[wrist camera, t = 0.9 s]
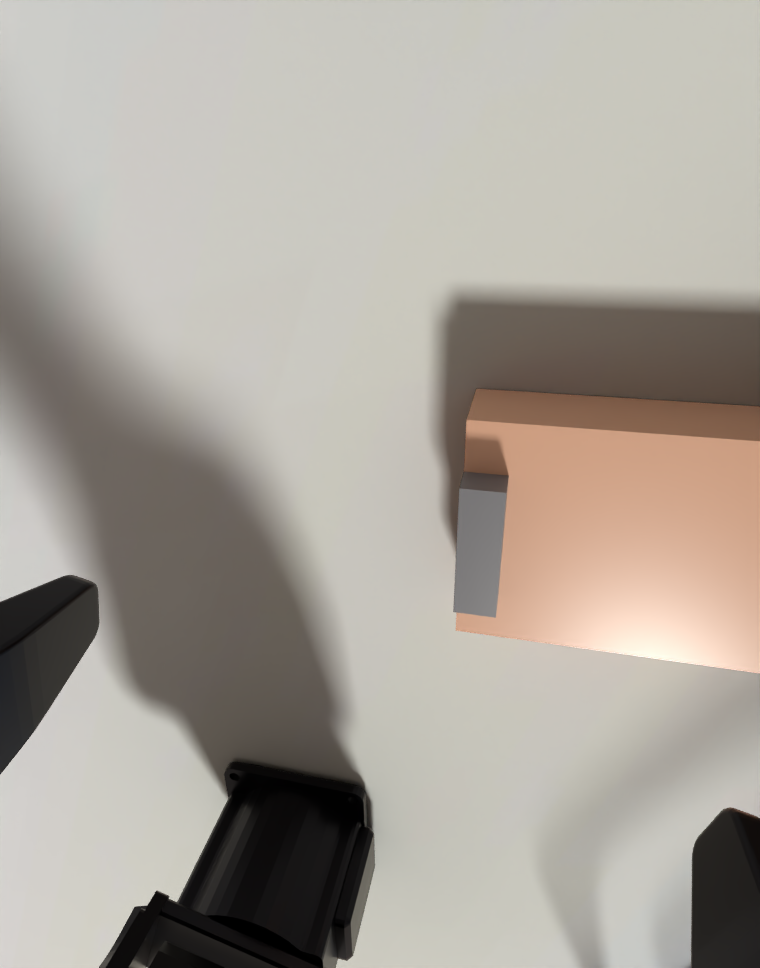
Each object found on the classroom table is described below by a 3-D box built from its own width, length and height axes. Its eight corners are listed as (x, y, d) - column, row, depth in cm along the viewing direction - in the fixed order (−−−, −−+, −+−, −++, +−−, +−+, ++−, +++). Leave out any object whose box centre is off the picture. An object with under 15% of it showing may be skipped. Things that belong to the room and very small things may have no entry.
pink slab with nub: (465, 583, 22) (451, 652, 19) (476, 388, 19) (462, 435, 16) (859, 632, 20) (914, 721, 17) (949, 418, 17) (1037, 479, 14)
